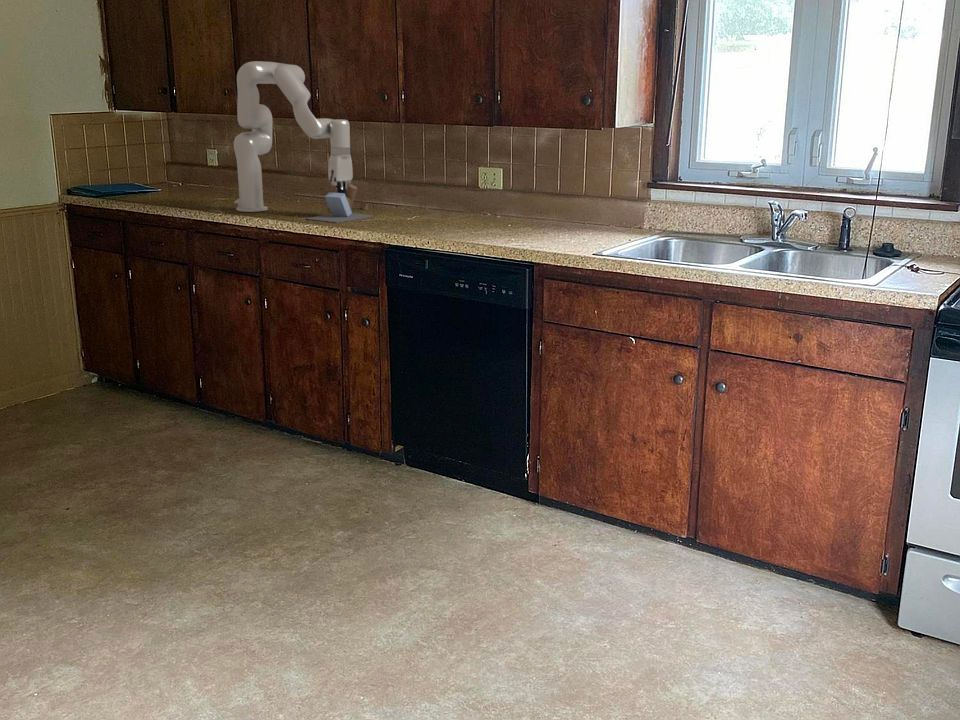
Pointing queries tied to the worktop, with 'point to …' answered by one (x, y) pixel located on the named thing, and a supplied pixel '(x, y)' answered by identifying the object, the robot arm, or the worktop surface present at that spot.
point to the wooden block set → (350, 197)
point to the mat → (339, 217)
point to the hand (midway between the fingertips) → (342, 199)
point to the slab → (338, 204)
